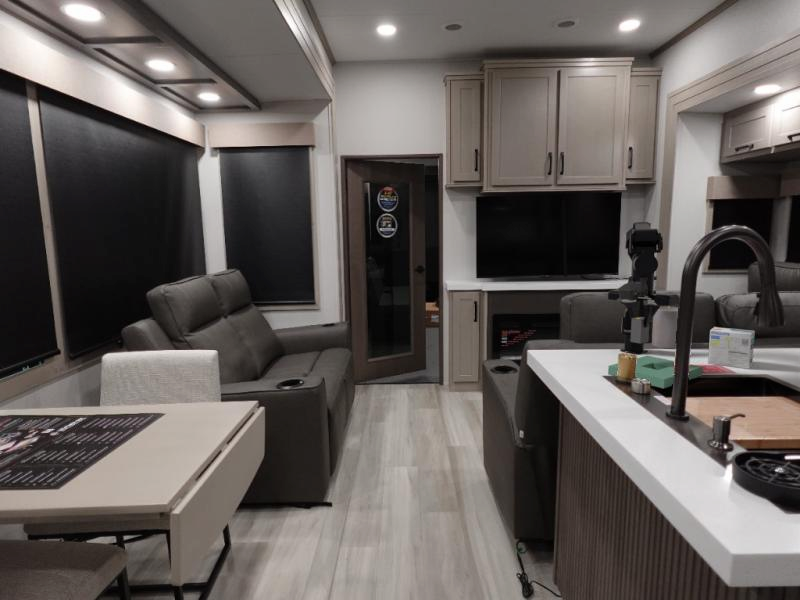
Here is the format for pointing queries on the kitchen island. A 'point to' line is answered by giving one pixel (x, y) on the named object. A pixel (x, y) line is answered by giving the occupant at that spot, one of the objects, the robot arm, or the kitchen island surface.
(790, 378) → the kitchen island surface
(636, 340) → the plug block
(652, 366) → the socket board
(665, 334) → the pillar candle
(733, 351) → the light bulb box
